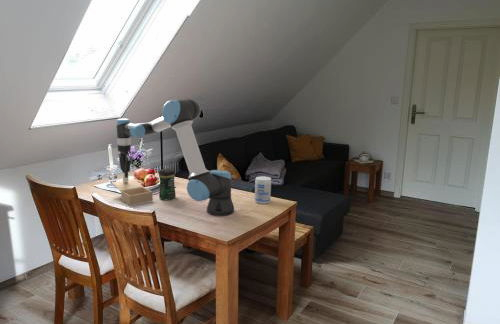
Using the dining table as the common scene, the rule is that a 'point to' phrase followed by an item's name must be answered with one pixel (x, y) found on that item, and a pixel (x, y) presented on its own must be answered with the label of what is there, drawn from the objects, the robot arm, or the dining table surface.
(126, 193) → the mailer box
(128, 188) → the lid
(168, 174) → the coffee jar
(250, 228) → the dining table surface
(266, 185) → the supplement tub
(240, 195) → the dining table surface
